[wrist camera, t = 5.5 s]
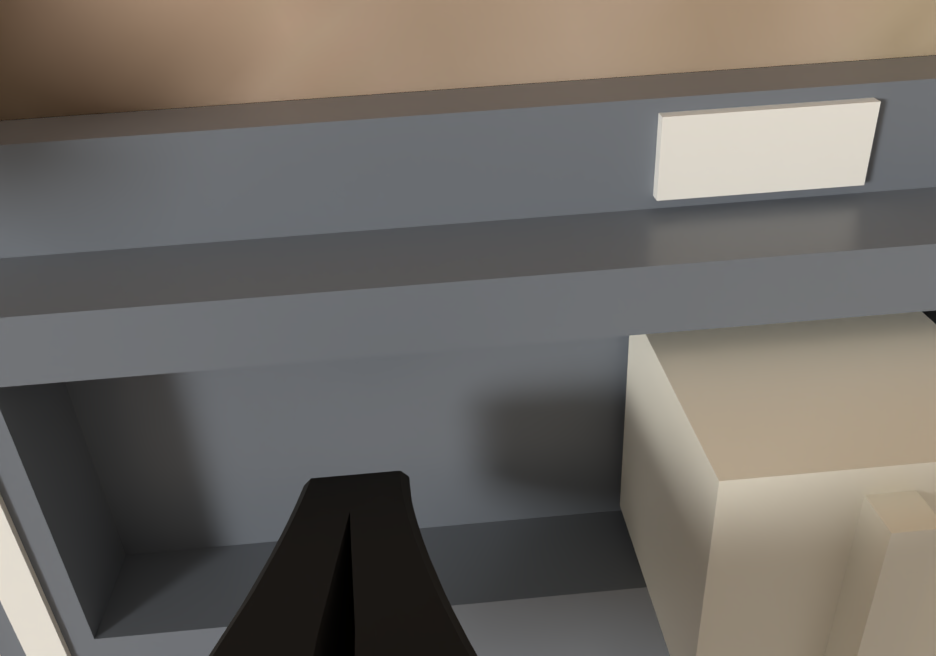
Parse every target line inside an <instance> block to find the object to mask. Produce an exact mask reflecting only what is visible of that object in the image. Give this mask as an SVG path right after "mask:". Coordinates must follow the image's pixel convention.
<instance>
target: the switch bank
mask: <svg viewBox="0 0 936 656" xmlns="http://www.w3.org/2000/svg"><path fill="white" fill-rule="evenodd" d="M910 312H923V313H924V314H925V315H926V316H927V317H928V318H930V319H931V320H932V321H933V322H934V323H935V324H936V55H933V56H918V57H904V58H890V59H876V60H861V61H847V62H833V63H819V64H804V65H790V66H776V67H761V68H747V69H733V70H719V71H704V72H690V73H676V74H661V75H647V76H633V77H619V78H604V79H590V80H576V81H561V82H547V83H533V84H519V85H504V86H490V87H476V88H462V89H447V90H433V91H419V92H404V93H390V94H376V95H362V96H347V97H333V98H319V99H304V100H290V101H276V102H262V103H247V104H233V105H219V106H205V107H190V108H176V109H162V110H147V111H133V112H119V113H105V114H90V115H76V116H62V117H47V118H33V119H19V120H5V121H0V655H1V656H209V654H210V653H211V651H212V650H213V648H214V647H215V645H216V644H217V642H218V641H219V639H220V638H221V636H222V634H223V633H224V631H225V630H226V628H227V627H228V625H229V624H230V622H231V621H232V619H233V618H234V616H235V615H236V613H237V611H238V610H239V608H240V607H241V605H242V603H243V602H244V600H245V598H246V597H247V595H248V593H249V592H250V590H251V588H252V586H253V585H254V583H255V581H256V579H257V578H258V576H259V574H260V572H261V571H262V569H263V567H264V565H265V564H266V562H267V560H268V558H269V557H270V555H271V553H272V551H273V549H274V547H275V545H276V543H277V542H278V540H279V538H280V536H281V534H282V532H283V530H284V528H285V526H286V524H287V522H288V520H289V518H290V516H291V514H292V512H293V509H294V507H295V505H296V503H297V501H298V498H299V496H300V494H301V491H302V489H303V486H304V485H305V484H306V483H307V482H308V481H309V480H310V479H311V478H320V477H332V476H343V475H355V474H366V473H378V472H389V471H402V472H403V473H405V474H406V475H408V476H409V479H410V488H411V497H412V504H413V508H414V512H415V516H416V519H417V523H418V526H419V529H420V532H421V535H422V538H423V541H424V544H425V546H426V549H427V552H428V554H429V557H430V559H431V561H432V564H433V566H434V568H435V571H436V573H437V575H438V578H439V580H440V582H441V585H442V587H443V589H444V592H445V594H446V596H447V598H448V600H449V602H450V604H451V606H452V608H453V611H454V613H455V614H456V616H457V618H458V620H459V622H460V624H461V626H462V628H463V630H464V632H465V634H466V636H467V638H468V639H469V641H470V643H471V645H472V647H473V648H474V650H475V652H476V654H477V656H670V654H669V651H668V648H667V645H666V642H665V639H664V636H663V633H662V630H661V627H660V624H659V621H658V618H657V615H656V612H655V609H654V606H653V603H652V600H651V597H650V594H649V591H648V588H647V585H646V582H645V579H644V576H643V573H642V570H641V567H640V564H639V561H638V558H637V555H636V552H635V549H634V546H633V543H632V540H631V537H630V534H629V531H628V528H627V525H626V522H625V519H624V517H623V514H622V511H621V508H620V493H621V475H622V457H623V439H624V421H625V403H626V385H627V367H628V349H629V336H630V335H642V334H654V333H667V332H679V331H691V330H703V329H715V328H727V327H740V326H752V325H764V324H776V323H788V322H800V321H813V320H825V319H837V318H849V317H861V316H873V315H886V314H898V313H910Z"/></svg>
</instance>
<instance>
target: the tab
mask: <svg viewBox="0 0 936 656" xmlns="http://www.w3.org/2000/svg"><path fill="white" fill-rule="evenodd" d="M620 508H621V511H622V514H623V517H624V519H625V522H626V525H627V528H628V531H629V534H630V537H631V540H632V543H633V546H634V549H635V552H636V555H637V558H638V561H639V564H640V567H641V570H642V573H643V576H644V579H645V582H646V585H647V588H648V591H649V594H650V597H651V600H652V603H653V606H654V609H655V612H656V615H657V618H658V621H659V624H660V627H661V630H662V633H663V636H664V639H665V642H666V645H667V648H668V651H669V654H670V656H936V324H935V323H934V322H933V321H932V320H931V319H930V318H928V317H927V316H926V315H925V314H924V313H923V312H910V313H898V314H886V315H873V316H861V317H849V318H837V319H825V320H813V321H800V322H788V323H776V324H764V325H752V326H740V327H727V328H715V329H703V330H691V331H679V332H667V333H654V334H642V335H630V336H629V349H628V367H627V385H626V403H625V421H624V439H623V457H622V475H621V493H620Z"/></svg>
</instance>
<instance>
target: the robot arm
mask: <svg viewBox="0 0 936 656" xmlns="http://www.w3.org/2000/svg"><path fill="white" fill-rule="evenodd" d="M209 656H477V654H476V652H475V650H474V648H473V647H472V645H471V643H470V641H469V639H468V638H467V636H466V634H465V632H464V630H463V628H462V626H461V624H460V622H459V620H458V618H457V616H456V614H455V613H454V611H453V608H452V606H451V604H450V602H449V600H448V598H447V596H446V594H445V592H444V589H443V587H442V585H441V582H440V580H439V578H438V575H437V573H436V571H435V568H434V566H433V564H432V561H431V559H430V557H429V554H428V552H427V549H426V546H425V544H424V541H423V538H422V535H421V532H420V529H419V526H418V523H417V519H416V516H415V512H414V508H413V504H412V497H411V488H410V479H409V476H408V475H406V474H405V473H403V472H402V471H389V472H378V473H366V474H355V475H343V476H332V477H320V478H311V479H310V480H309V481H308V482H307V483H306V484H305V485H304V486H303V489H302V491H301V494H300V496H299V498H298V501H297V503H296V505H295V507H294V509H293V512H292V514H291V516H290V518H289V520H288V522H287V524H286V526H285V528H284V530H283V532H282V534H281V536H280V538H279V540H278V542H277V543H276V545H275V547H274V549H273V551H272V553H271V555H270V557H269V558H268V560H267V562H266V564H265V565H264V567H263V569H262V571H261V572H260V574H259V576H258V578H257V579H256V581H255V583H254V585H253V586H252V588H251V590H250V592H249V593H248V595H247V597H246V598H245V600H244V602H243V603H242V605H241V607H240V608H239V610H238V611H237V613H236V615H235V616H234V618H233V619H232V621H231V622H230V624H229V625H228V627H227V628H226V630H225V631H224V633H223V634H222V636H221V638H220V639H219V641H218V642H217V644H216V645H215V647H214V648H213V650H212V651H211V653H210V654H209Z"/></svg>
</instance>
